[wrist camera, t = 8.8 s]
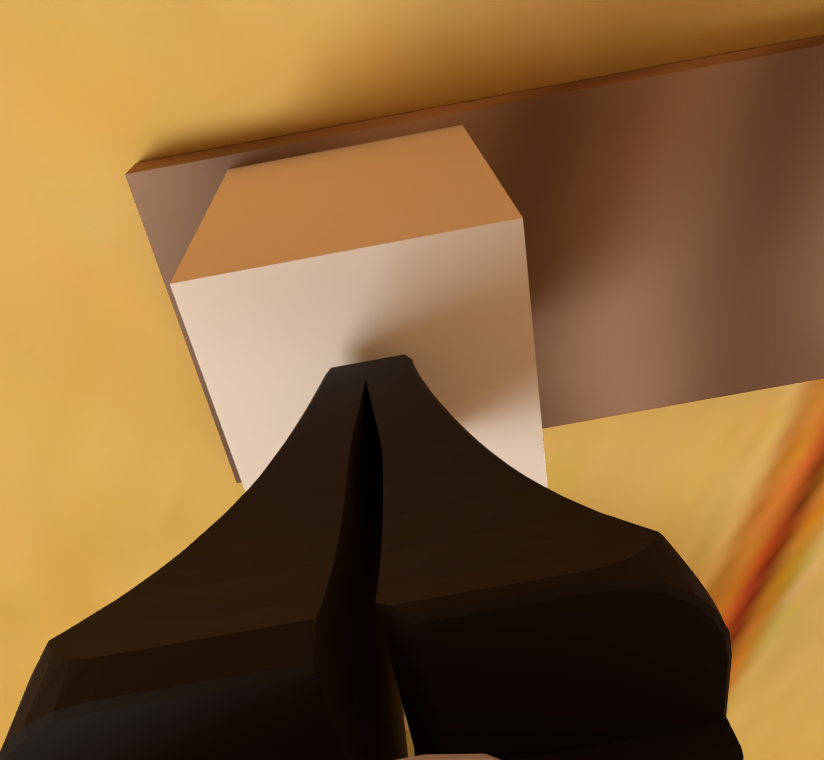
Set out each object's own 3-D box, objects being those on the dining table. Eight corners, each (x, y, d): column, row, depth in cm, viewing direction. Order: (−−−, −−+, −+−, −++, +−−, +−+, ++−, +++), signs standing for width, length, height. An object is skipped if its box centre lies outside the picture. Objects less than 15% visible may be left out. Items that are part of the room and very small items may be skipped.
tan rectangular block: (462, 124, 17) (522, 217, 11) (488, 334, 20) (548, 494, 14) (227, 169, 17) (170, 283, 11) (287, 371, 20) (264, 544, 14)
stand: (890, 23, 17) (918, 27, 16) (838, 355, 22) (858, 372, 21) (136, 163, 18) (125, 174, 17) (241, 462, 22) (237, 482, 21)
